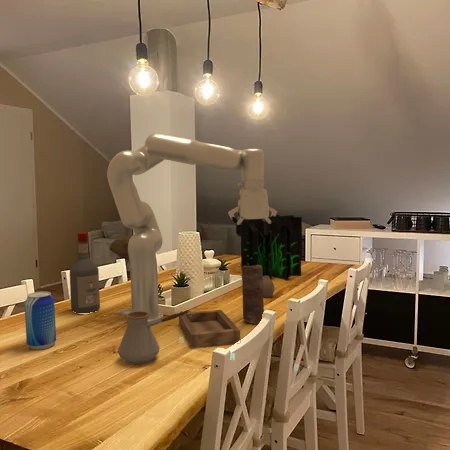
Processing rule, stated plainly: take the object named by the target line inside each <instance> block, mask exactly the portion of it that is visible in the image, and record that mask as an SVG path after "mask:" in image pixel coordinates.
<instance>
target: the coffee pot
mask: <svg viewBox="0 0 450 450" xmlns="http://www.w3.org/2000/svg"><path fill="white" fill-rule="evenodd" d="M188 312H190V313H191V312H192V311H191V310H190V309H187V310H184V311H182V310H181V311H179V312H177V313H173V314H171V315H168V316H166V317H163V319H161V320H159V321H156V322H153V323H148V322H147V320H148V317H149V315H150V314H149V313H148V312H143V311H138V312H131V313H128V314H127V315H126V316H125V317H126V318H127V321H128V324H127V325H126V329H125V331H124V333H123V336H122V339H121V341H120V344H119V345H118V346H119V347H118V348H117V353H118V356H119V357H120V358H121V359H122V360H124V361H125V363H126V364H129V365H145V364H148V363H150V362H152V361H153V360H154V358H156V357H157V355H158V354H159V353H160V345H159V343H158V341H157V339H156V336H155V334H154V332H153V330H152V328H151V327H153V326H156V325H159V324H161V323H166V322H168V321H172V320H175V319H177V318H179V316H183V315H184V314H187V313H188ZM188 316H189V314H188ZM189 317H190V316H189ZM191 317H192V313H191Z"/></svg>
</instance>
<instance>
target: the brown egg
mask: <svg viewBox="0 0 450 450" xmlns="http://www.w3.org/2000/svg"><path fill="white" fill-rule="evenodd" d="M274 293H275V284H274V282H273V281H271V279H270V278H269V276H263V299H269V298H271V297H272V296H273V295H274Z"/></svg>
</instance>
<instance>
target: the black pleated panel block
mask: <svg viewBox="0 0 450 450" xmlns="http://www.w3.org/2000/svg"><path fill="white" fill-rule="evenodd" d="M269 217H270V216H269ZM269 217H268V218H269ZM302 221H303V217H302V216H294V215H293V214H291V215H280V214H276V216H275V218H274V219H273V221H272V222H271V223H270V233H269V235H265V234H264V223H265V221H264V220H263V219H244V220H243V221H242V222H241V225H242V236H241V237H240V251H241V252H240V262H241V263H240V265H241V266H240V269H241V271H242V266H256V265H261V266H262V270H263V276H269V278H270V279H271V281H272V280H273V278H277V279H279V280H284V281H288V279H290V277H301V276H302V258H303V256H302V255H303V226H302V225H303V222H302ZM272 282H273V281H272Z"/></svg>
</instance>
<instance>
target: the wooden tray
mask: <svg viewBox="0 0 450 450" xmlns="http://www.w3.org/2000/svg"><path fill="white" fill-rule="evenodd" d="M191 313H192V317H191ZM191 313H190V312H188V313H187V314H184V315H183V316H179V317H178V325H179V327H180V329H181V331H182V332H183V334H184V336H185V338H186V340H187V342H188V344H189V346H190V347H191V349H197V348H198V349H199V348H206V347H215V346H226V345H235V344H234V343H236V342H238V341H239V340H240V341H241V329H240V328H239V327H238V326H237V325H236V324H235V323H234V322H233V321H232V320H231V319H230V318H229V317H228V315H227V314H226V313H225V312H224V311H223V310H222V309H214V310H202V311H199V310H198V311H191ZM188 314H189V316H190V317H189V316H188Z"/></svg>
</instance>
